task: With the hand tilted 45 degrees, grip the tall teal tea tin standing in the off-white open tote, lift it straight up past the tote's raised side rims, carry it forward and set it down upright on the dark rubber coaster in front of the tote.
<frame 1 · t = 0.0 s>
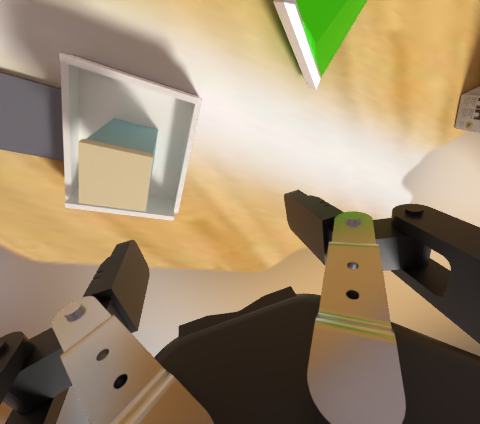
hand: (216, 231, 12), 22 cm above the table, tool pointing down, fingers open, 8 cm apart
coffee box: (478, 102, 40), on the table
tea tin: (134, 144, 29), point 1 cm above the table, touching tote
coaster: (22, 117, 25), on the table
tote: (135, 142, 29), on the table
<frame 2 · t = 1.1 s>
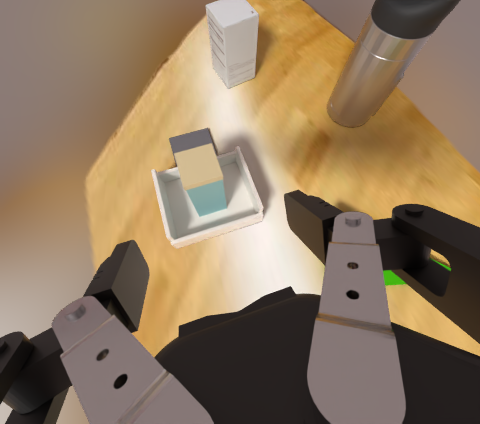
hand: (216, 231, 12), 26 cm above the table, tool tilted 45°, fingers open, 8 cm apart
tea tin: (209, 200, 40), point 1 cm above the table, touching tote
coaster: (193, 150, 45), on the table
supplement box: (233, 74, 52), on the table
tote: (209, 201, 41), on the table
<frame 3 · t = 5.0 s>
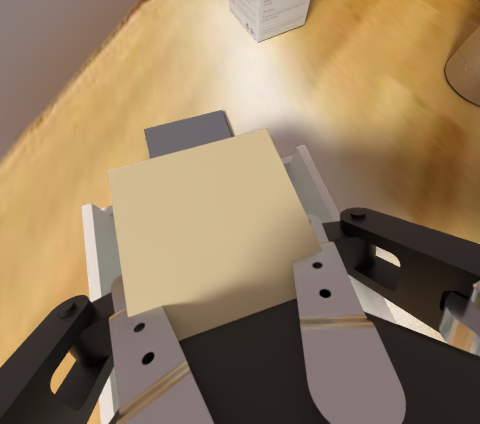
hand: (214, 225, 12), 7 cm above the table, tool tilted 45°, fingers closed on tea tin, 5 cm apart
tea tin: (229, 269, 18), point 1 cm above the table, touching gripper, tote
coaster: (194, 155, 22), on the table
supplement box: (265, 20, 30), on the table
tote: (229, 270, 18), on the table
when the fingers open (8 cm above the table, at t = 10.3 s): tea tin drops 1 cm, resting on coaster.
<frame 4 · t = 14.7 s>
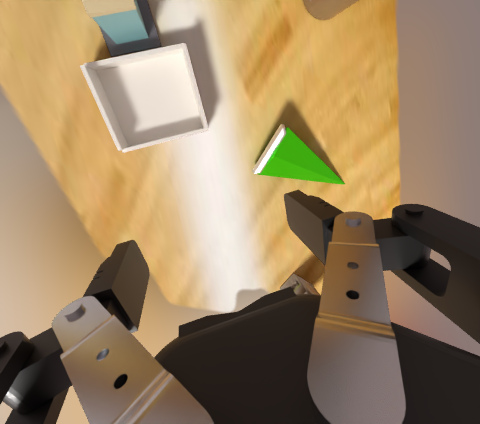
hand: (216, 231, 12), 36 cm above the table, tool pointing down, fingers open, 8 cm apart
coffee box: (296, 286, 66), on the table
tea tin: (126, 21, 34), point 1 cm above the table, touching coaster
coaster: (126, 21, 35), on the table
green and white wedge: (301, 157, 51), on the table
tote: (154, 101, 40), on the table
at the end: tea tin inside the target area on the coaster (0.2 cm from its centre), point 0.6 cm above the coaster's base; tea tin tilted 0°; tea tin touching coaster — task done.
